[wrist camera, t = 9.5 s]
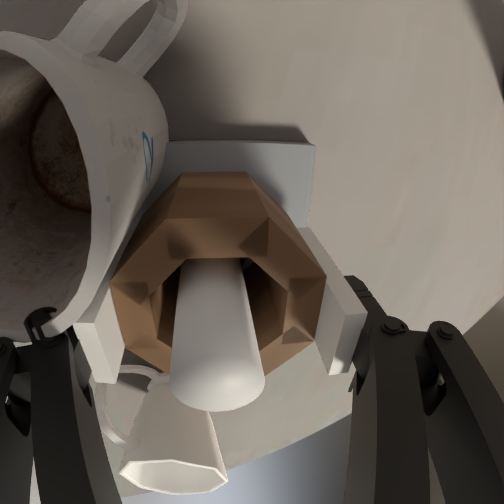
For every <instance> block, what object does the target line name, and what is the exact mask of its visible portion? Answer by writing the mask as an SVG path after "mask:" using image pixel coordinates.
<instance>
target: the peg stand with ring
mask: <svg viewBox="0 0 504 504" xmlns="http://www.w3.org/2000/svg"><path fill="white" fill-rule="evenodd" d="M315 150H316V146H315V145H313V144H311V143H303V142H286V141H259V140H194V141H169V142H168V143H166V149H165V155H164V162H163V166H162V169H161V171H160V174H159V177H158V180H157V182H156V184H155V185H154V187H153V189H152V191H151V192H150V194H149V196H148V198H147V199H146V201H145V203H144V204H143V206H142V208H141V209H140V211H139V213H138V214H137V216H136V218H135V220H134V221H133V223H132V225H131V227H130V229H129V230H128V231H134V230H135V228H136V226H137V225H138V223H139V221H140V219H141V217H142V216H143V214H144V213H145V212H146V211H147V210H148V209H149V208H150V207H151V205H152V204H153V203H154V202H155V201H156V200H157V199H158V198H159V197H160V196H161V195H162V193H163V192H164V191H165V190H166V189H167V188H168V187H169V186H170V185H171V184H172V183H173V182H174V181H175V180H176V179H177V178H178V176H179V175H180V174H181V173H182V172H247V173H248V174H249V175H250V176H251V177H252V178H253V179H254V180H255V181H256V182H257V183H258V184H259V185H260V186H261V187H262V188H263V189H264V190H265V191H266V192H267V193H268V194H269V195H270V196H271V197H272V198H273V199H274V200H275V201H276V202H277V203H278V204H279V206H280V207H281V208H282V209H283V210H284V211H285V212H286V213H287V214H288V216H289V217H290V219H291V220H292V222H293V223H294V225H295V226H296V228H308V221H309V212H310V203H311V193H312V183H313V173H314V162H315ZM253 262H254V261H253V260H252V259H251V258H250V257H235V258H196V259H186V260H185V261H184V262H183V263H182V264H181V265H180V268H181V272H180V280H179V288H178V296H177V305H176V314H175V323H174V333H173V343H172V354H171V366H170V380H169V385H170V389H171V391H172V393H173V395H174V396H175V397H176V398H177V399H178V400H179V401H181V402H182V403H184V404H186V405H188V406H190V407H192V408H195V409H199V410H204V411H228V410H233V409H237V408H240V407H242V406H245V405H247V404H249V403H250V402H252V401H253V400H255V399H256V398H257V397H258V396H259V395H260V393H261V392H262V390H263V388H264V385H265V377H264V372H263V368H262V363H261V358H260V354H259V349H258V344H257V339H256V334H255V330H254V325H253V320H252V315H251V310H250V306H249V301H248V296H247V291H246V286H245V281H244V276H243V271H244V270H245V269H246V268H247V267H248V266H250V265H251V264H252V263H253Z"/></svg>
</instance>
